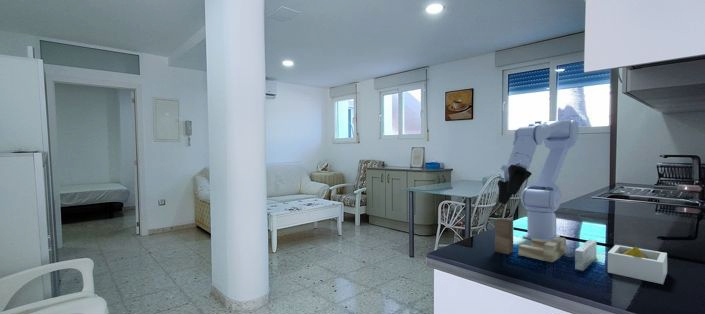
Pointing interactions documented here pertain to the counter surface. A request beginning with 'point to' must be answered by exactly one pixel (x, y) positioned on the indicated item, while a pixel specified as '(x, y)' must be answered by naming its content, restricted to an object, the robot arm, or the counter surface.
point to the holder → (638, 264)
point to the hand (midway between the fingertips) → (506, 198)
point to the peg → (504, 235)
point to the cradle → (544, 249)
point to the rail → (585, 255)
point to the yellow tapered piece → (634, 253)
